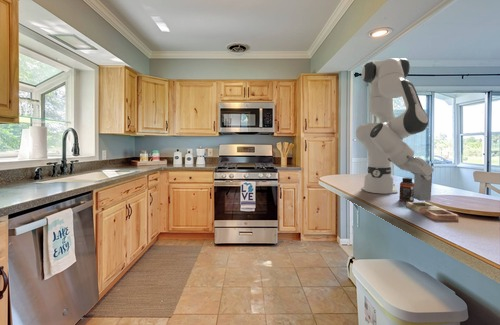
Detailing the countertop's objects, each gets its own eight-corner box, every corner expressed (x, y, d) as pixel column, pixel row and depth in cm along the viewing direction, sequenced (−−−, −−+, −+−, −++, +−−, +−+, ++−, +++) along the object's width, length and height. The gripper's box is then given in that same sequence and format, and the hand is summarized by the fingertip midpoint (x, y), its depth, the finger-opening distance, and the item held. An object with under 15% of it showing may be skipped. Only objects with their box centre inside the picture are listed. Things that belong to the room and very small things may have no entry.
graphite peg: (413, 198, 110) (414, 168, 109) (423, 197, 110) (425, 168, 108) (419, 200, 106) (421, 170, 104) (430, 200, 105) (432, 170, 104)
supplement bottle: (416, 202, 118) (417, 179, 117) (402, 202, 119) (403, 179, 118) (410, 199, 124) (411, 177, 123) (397, 199, 125) (398, 177, 124)
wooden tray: (406, 206, 112) (406, 202, 112) (425, 206, 112) (425, 202, 111) (435, 220, 93) (435, 215, 93) (458, 220, 93) (458, 215, 92)
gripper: (422, 151, 96) (447, 176, 96) (395, 148, 116) (416, 169, 116) (409, 163, 96) (434, 188, 97) (385, 158, 117) (405, 178, 117)
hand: (424, 177), depth 107 cm, fingers closed on graphite peg, 4 cm apart
